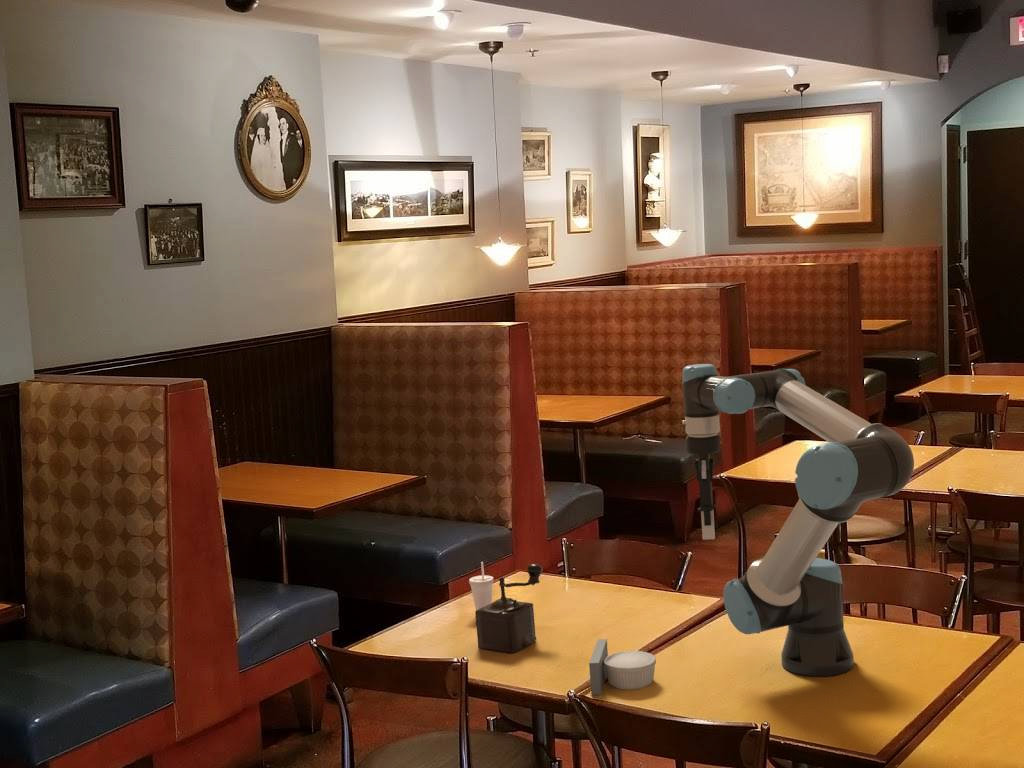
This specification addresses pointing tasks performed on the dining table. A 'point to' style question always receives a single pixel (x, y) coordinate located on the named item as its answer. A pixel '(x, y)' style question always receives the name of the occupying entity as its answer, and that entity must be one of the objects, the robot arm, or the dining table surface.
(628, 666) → the ramekin
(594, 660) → the board
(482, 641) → the coffee grinder
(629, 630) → the dining table surface
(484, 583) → the smoothie
